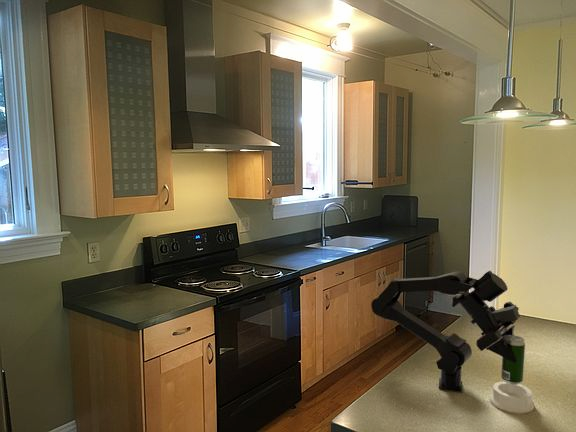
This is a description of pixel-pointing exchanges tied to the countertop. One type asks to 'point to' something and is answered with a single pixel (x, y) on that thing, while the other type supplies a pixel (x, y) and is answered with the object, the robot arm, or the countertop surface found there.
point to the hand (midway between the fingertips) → (518, 358)
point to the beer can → (511, 370)
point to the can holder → (512, 398)
